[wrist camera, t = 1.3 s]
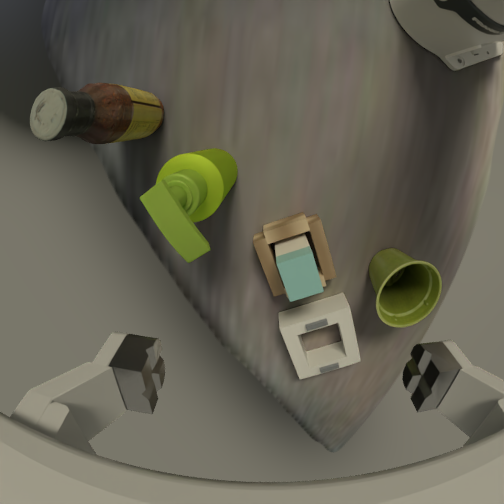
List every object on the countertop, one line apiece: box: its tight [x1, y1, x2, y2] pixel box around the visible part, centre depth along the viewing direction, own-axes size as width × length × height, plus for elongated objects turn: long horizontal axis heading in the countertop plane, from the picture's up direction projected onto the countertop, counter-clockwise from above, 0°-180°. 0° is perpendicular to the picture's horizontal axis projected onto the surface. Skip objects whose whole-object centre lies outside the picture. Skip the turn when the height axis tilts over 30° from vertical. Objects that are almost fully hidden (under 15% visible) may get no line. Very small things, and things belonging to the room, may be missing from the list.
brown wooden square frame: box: [253, 212, 336, 298], centre depth 38 cm, size 9×10×3 cm
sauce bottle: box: [30, 83, 164, 144], centre depth 24 cm, size 6×6×20 cm
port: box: [278, 292, 361, 379], centre depth 42 cm, size 10×11×4 cm
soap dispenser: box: [140, 149, 237, 263], centre depth 27 cm, size 6×7×20 cm
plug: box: [275, 233, 324, 302], centre depth 36 cm, size 4×5×8 cm
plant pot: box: [369, 248, 442, 327], centre depth 36 cm, size 9×9×9 cm
